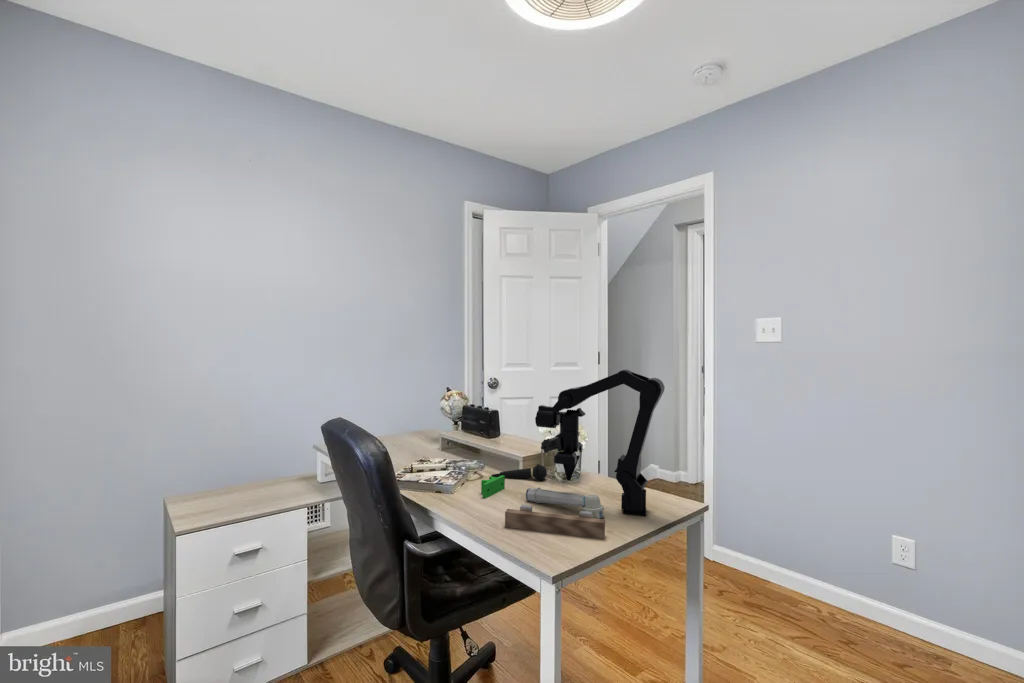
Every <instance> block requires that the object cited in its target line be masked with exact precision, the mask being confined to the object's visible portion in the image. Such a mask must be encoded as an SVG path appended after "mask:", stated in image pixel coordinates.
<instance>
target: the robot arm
mask: <svg viewBox="0 0 1024 683" xmlns="http://www.w3.org/2000/svg"><path fill="white" fill-rule="evenodd" d="M621 385H625V386H627V387H629V388H631V389H633V390H634V391H637V392H638V393H639V397H638V398H639V408H638V412H637V415H636V416H637V417H636V419H635V424H634V426H633V431H632V435H631V437H630V440H629V441H630V442H629V445H628V448H627V452H626V454H621V455H620V457H619V458H618V459H617V465H616V468H615V470H614V473H615V479H616V481H617V482H618V483H619V484H620V486H621V489H622V493H621V506H620V507H621V510H622V514H624V515H631V516H632V515H633V516H642V517H643V516H644V517H646V516H647V489H646V487H647V484H648V480H647V478H645V476H644V475H643V474H642V473H641V469H642V468H641V467H642V453H643V450H644V446H645V442H646V439H647V435H648V432H649V430H650V425H651V420H652V418H653V415H654V411H655V409H656V408H657V407H658V404H659V402H660V400H661V398H662V396H663V394H664V393H665V384H664V382H663V381H662V380H661V379H660V378H657V377H651V378H650V377H647V376H644V375H641V374H638V373H636V372H633V371H631V370H629V369H622V370H620V371H619V370H618V372H617V373H614V374H612V375H609V376H606V377H604V378H602V379H599V380H596V381H594V382H591V383H589V384H587V385H580V386H577V387H571V388H567V389H565V390H562V391H560V392H559V393H558V397H557V401H556V402H555V404H554V405H553V406H546V405H544V404H541V405H538V407H537V408H538V409H537V411H536V416H535V417H534V419H535V424H536V427H538V428H547V429H556V428H557V427H558V426H559V433H558V434H557V436H555V437H551V438H547V439H543V440H542V442H541V443H540V444H541V448H540V449H541V450H543V453H544V454H547V453H549V452H552V451H554V450H557V451H556V452H557V453H555V455H554V456H553V464H556V465H562V466H563V469H564V474H565V479H566V481H568V482H569V481H572V480H571V479H572V478H573V476H574V473H575V469H576V468H577V465H578V463H579V461H580V457H581V455H577V453H578V452H579V453H582V452H583V450H584V448H583V446H584V445H583V443H582V442H581V441H579V437H580V431H579V425H580V424H579V423H580V422H579V417H580V418H582V417H584V416H586V412H585V411H584V410H582V408H581V407H579V408H578V407H577V406H579V405H580V404H582V403H584V402H585V401H586V400H588V399H589V398H591V397H593V396H596V395H598V394H600V393H603V392H606V391H608V390H611V389H614V388H616V387H620V386H621ZM575 407H577V409H572V408H575ZM563 410H566V411H563Z"/></svg>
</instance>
